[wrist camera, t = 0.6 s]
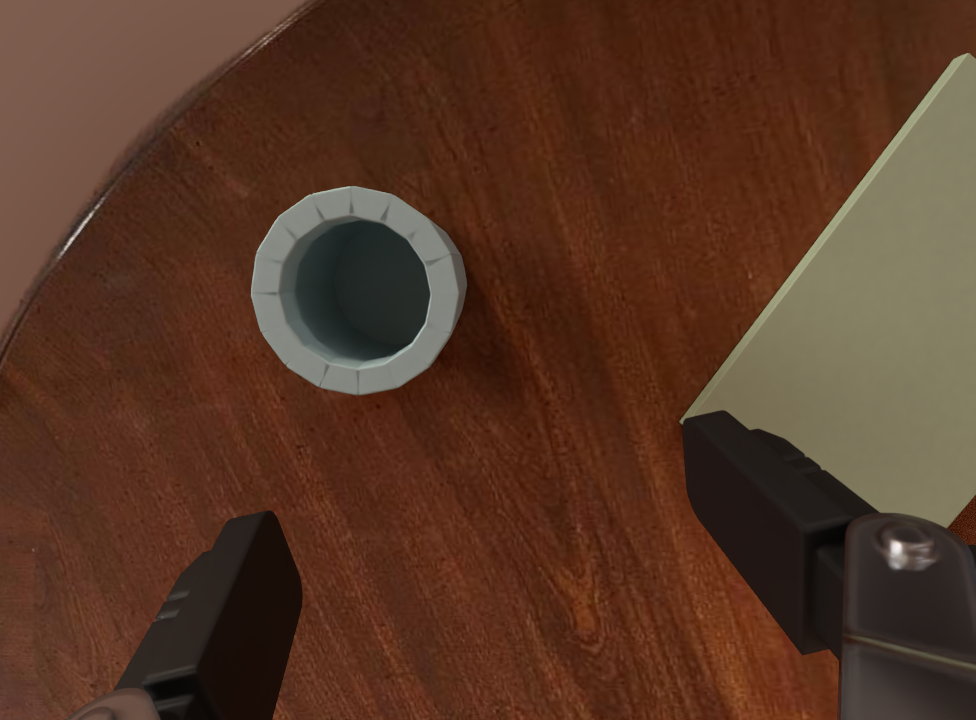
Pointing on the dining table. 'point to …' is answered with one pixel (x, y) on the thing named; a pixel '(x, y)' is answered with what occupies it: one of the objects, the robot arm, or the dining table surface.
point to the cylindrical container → (357, 290)
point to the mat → (880, 325)
